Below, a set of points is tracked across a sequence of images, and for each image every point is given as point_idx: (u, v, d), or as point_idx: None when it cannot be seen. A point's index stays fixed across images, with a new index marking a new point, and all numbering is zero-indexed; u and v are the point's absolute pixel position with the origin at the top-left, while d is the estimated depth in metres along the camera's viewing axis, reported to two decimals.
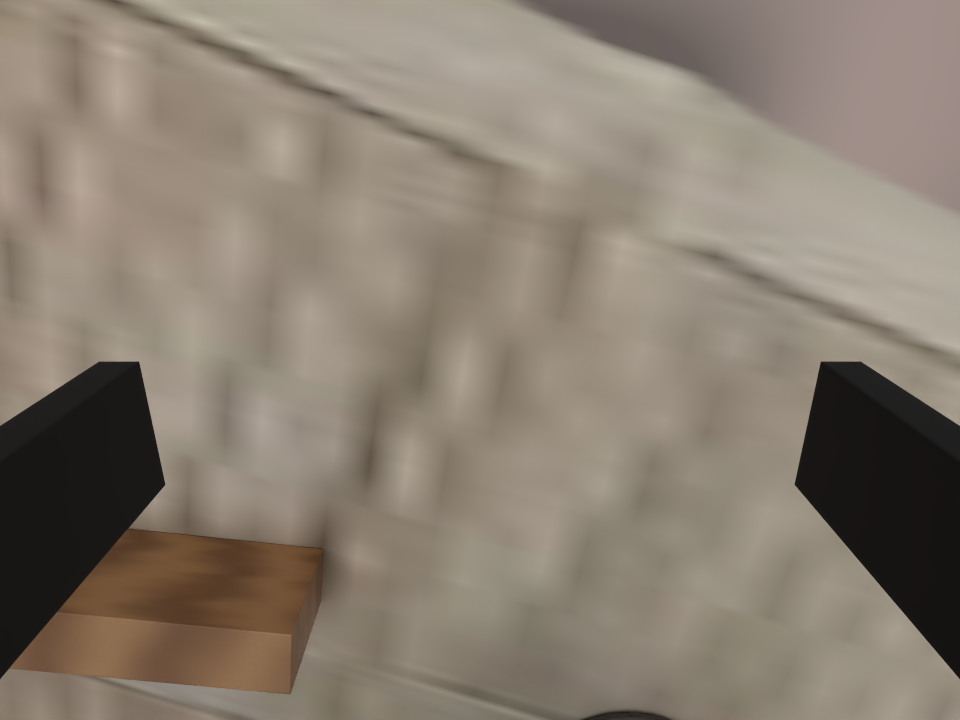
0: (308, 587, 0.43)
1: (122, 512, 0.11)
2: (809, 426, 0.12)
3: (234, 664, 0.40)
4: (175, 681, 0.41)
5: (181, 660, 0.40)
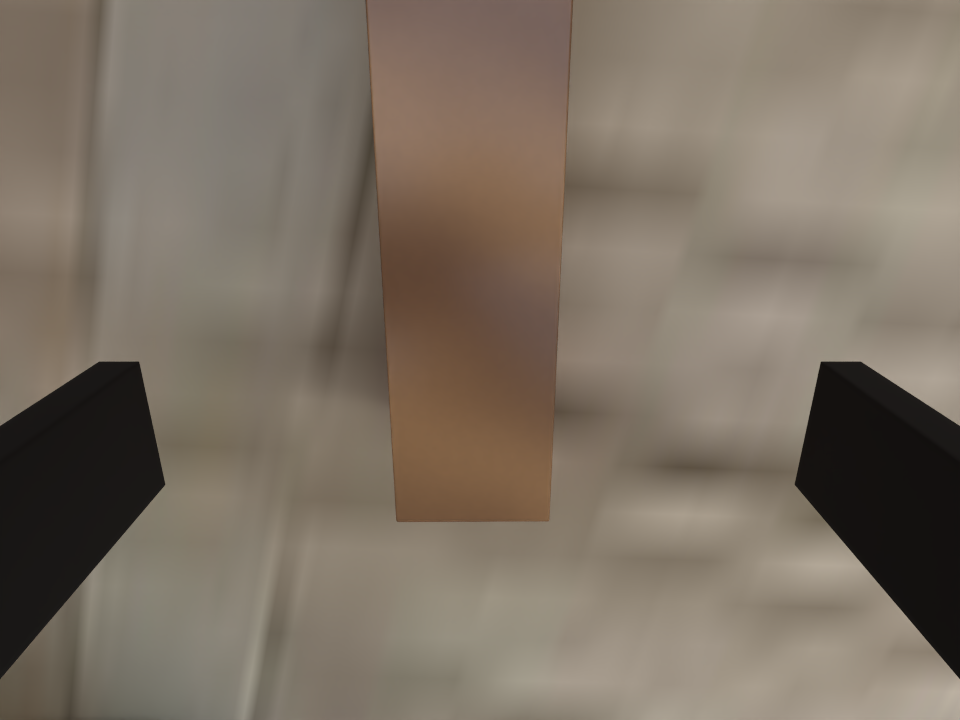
0: None
1: (122, 512, 0.11)
2: (809, 426, 0.12)
3: (459, 425, 0.20)
4: (391, 308, 0.18)
5: (457, 323, 0.18)
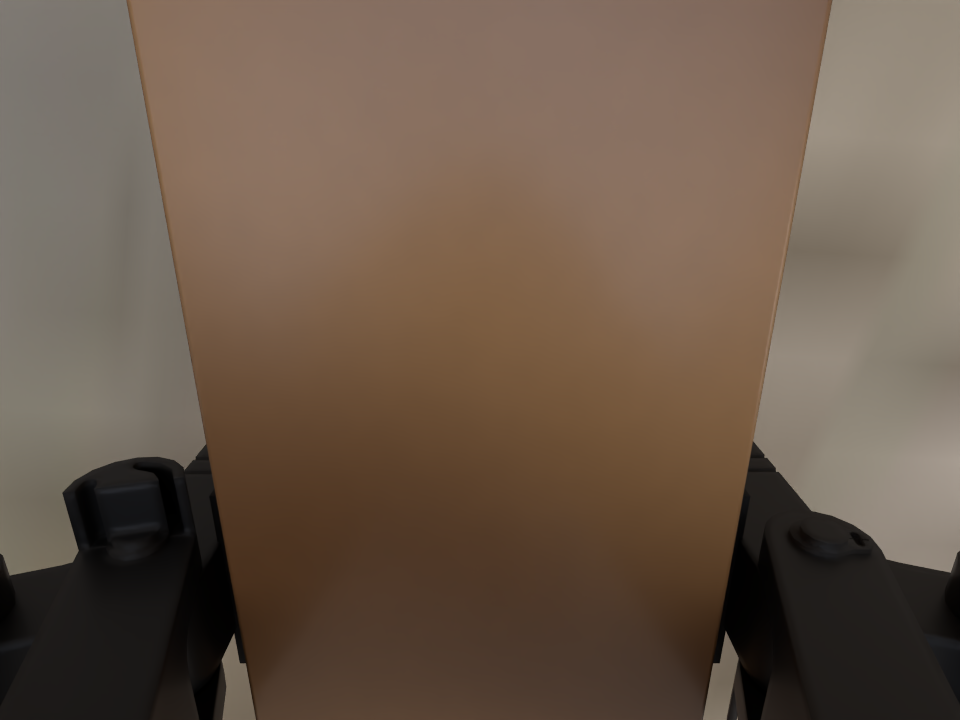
0: None
1: None
2: None
3: None
4: (261, 637, 0.07)
5: (441, 669, 0.07)
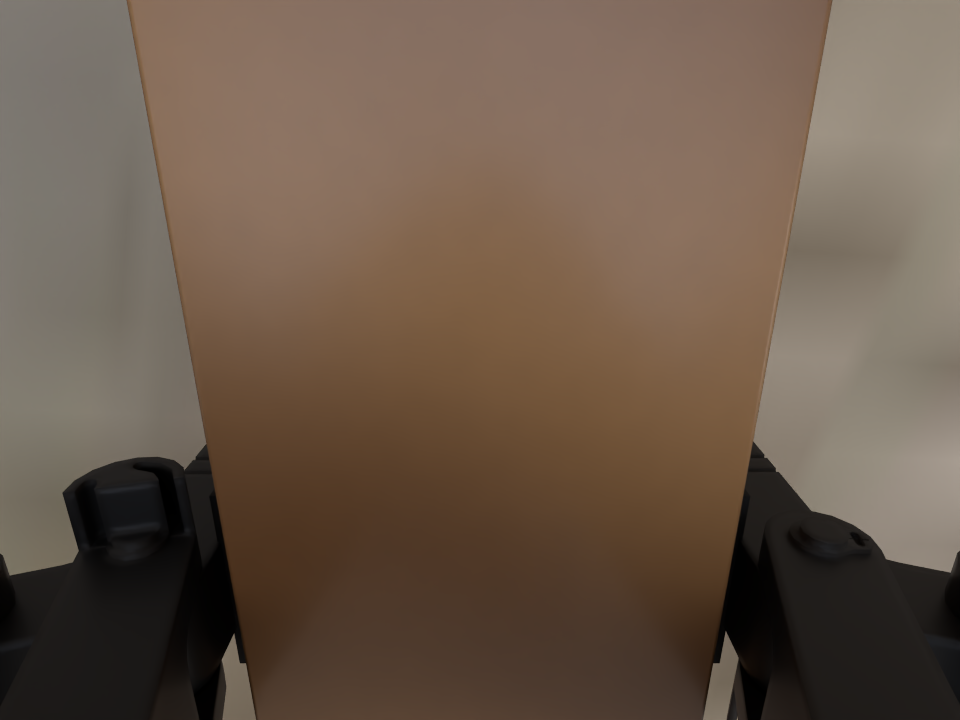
0: None
1: None
2: None
3: None
4: (261, 637, 0.07)
5: (441, 669, 0.07)
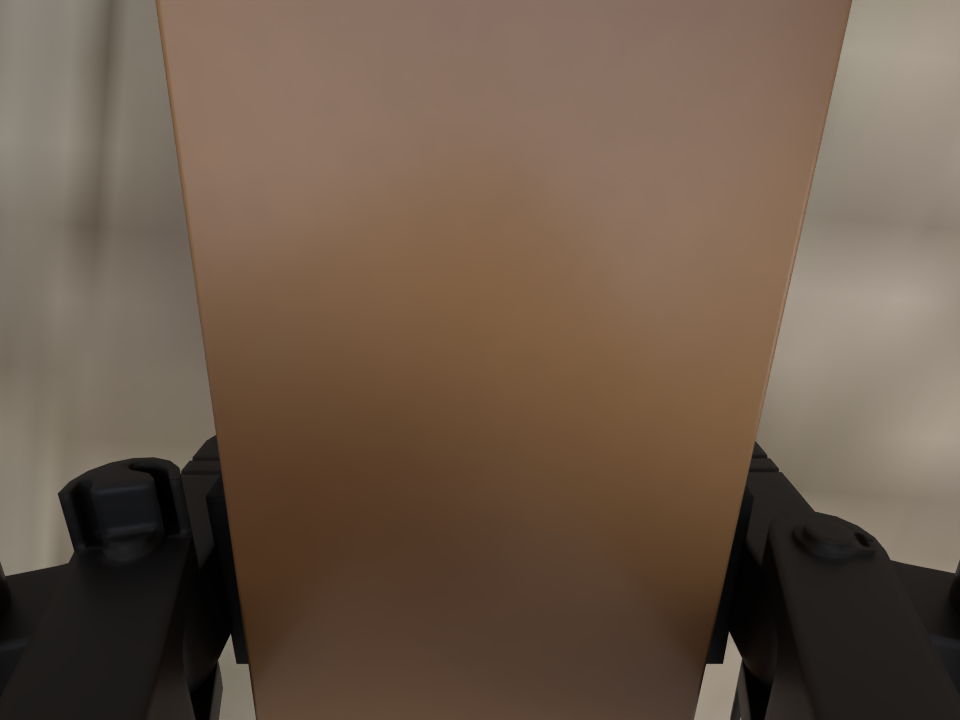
0: None
1: None
2: None
3: None
4: (262, 618, 0.07)
5: (439, 656, 0.07)
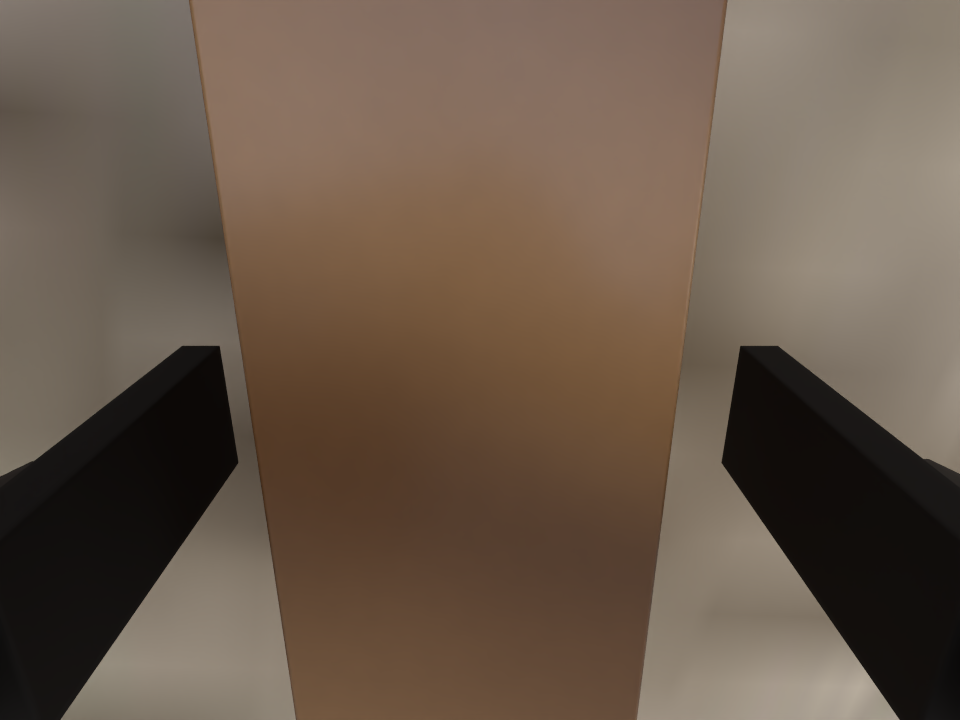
0: None
1: (207, 486, 0.12)
2: (733, 407, 0.13)
3: None
4: (286, 541, 0.08)
5: (433, 569, 0.08)
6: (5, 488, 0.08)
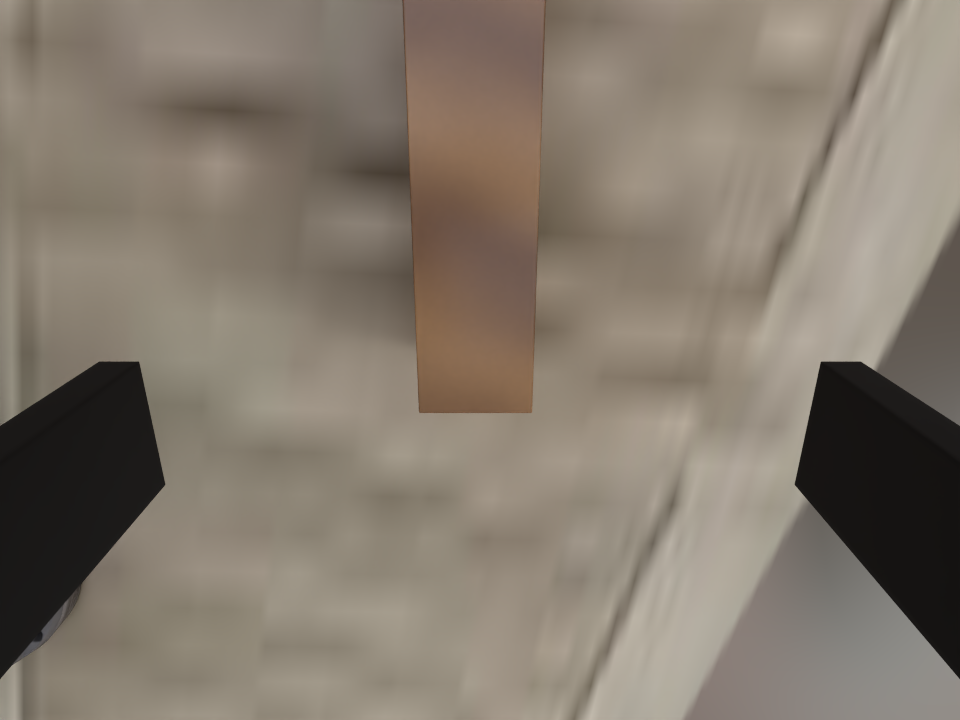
0: None
1: (122, 512, 0.11)
2: (809, 427, 0.12)
3: (466, 337, 0.27)
4: (418, 250, 0.26)
5: (464, 261, 0.26)
6: None
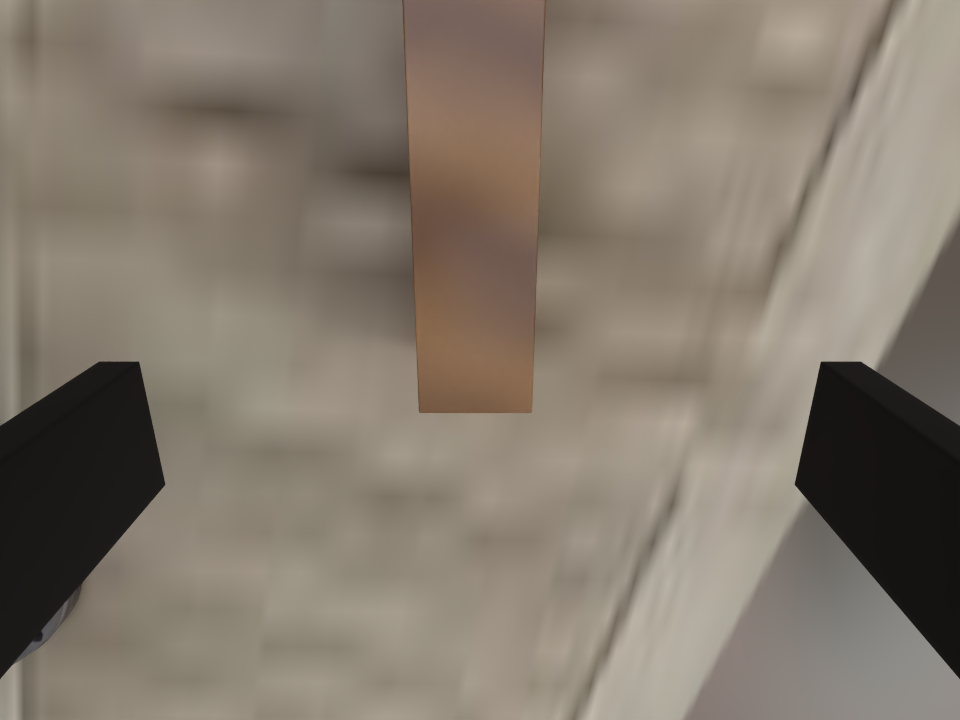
0: None
1: (122, 512, 0.11)
2: (809, 426, 0.12)
3: (466, 337, 0.27)
4: (418, 250, 0.26)
5: (464, 261, 0.26)
6: None
